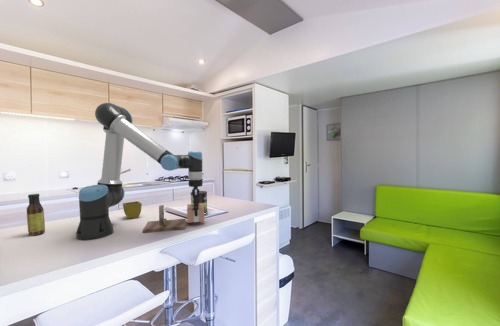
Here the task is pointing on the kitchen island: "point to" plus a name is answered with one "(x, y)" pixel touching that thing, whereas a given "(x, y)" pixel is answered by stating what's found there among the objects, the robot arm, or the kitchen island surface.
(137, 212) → the flower pot
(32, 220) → the sauce bottle
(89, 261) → the kitchen island surface
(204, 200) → the coffee can
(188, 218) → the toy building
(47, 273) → the kitchen island surface
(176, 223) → the base
